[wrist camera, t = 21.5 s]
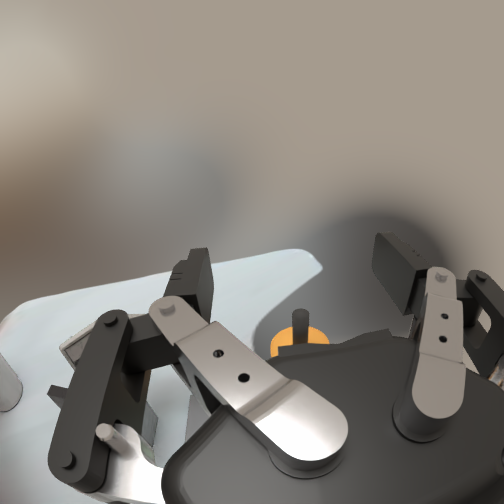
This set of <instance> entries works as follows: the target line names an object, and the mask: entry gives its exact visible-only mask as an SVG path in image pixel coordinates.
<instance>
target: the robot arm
mask: <svg viewBox="0 0 504 504" xmlns="http://www.w3.org/2000/svg"><path fill="white" fill-rule="evenodd" d="M372 269H373V272H374V274H375V276H376V277H377V278H378V280H379V281H380V283H381V284H382V285H383V287H384V288H385V290H386V291H387V292H388V294H389V295H390V297H391V298H392V300H393V301H394V303H395V304H396V306H397V307H398V309H399V310H400V312H401V313H402V314H403V316H404V315H409V314H414V317H413V320H412V323H411V328H410V333H409V337H408V338H404V337H397V336H392V335H391V333H390V331H389V329H384V330H379V331H375V332H370V333H365V334H362V335H360V336H357V337H355V338H353V339H350V340H348V341H345V342H343V343H340V344H319V343H303V344H295V345H286V346H278V355H277V356H274V357H272V358H269V359H267V360H265V361H264V360H263V359H262V358H260V357H259V356H258V355H257V354H255V353H254V352H253V351H252V350H251V349H249V348H248V347H247V346H246V345H245V344H243V343H242V342H241V341H240V340H239V339H238V338H236V337H235V336H234V335H233V334H232V333H231V332H229V331H228V330H227V329H226V328H225V327H224V326H222V325H221V324H220V323H219V322H217V321H214V322H212V323H210V318H211V309H212V300H213V292H214V282H213V275H212V269H211V263H210V258H209V252H208V249H207V248H197V249H191V250H190V253H189V256H188V259H187V260H181V261H180V262H179V263H178V264H176V265H175V267H174V268H173V271H172V275H171V276H170V279H169V280H170V281H169V282H168V284H167V287H166V290H165V293H164V296H163V297H162V298H160V299H158V300H156V301H155V302H154V303H152V305H151V306H150V308H149V313H148V314H145V315H142V316H138V317H134V318H130V319H129V317H128V314H127V313H126V312H125V311H123V310H111V311H108V312H106V313H104V314H102V315H101V316H100V317H99V318H98V319H97V321H96V322H95V325H94V327H93V329H92V331H91V333H90V336H89V338H88V340H87V342H86V345H85V347H84V349H83V352H82V354H81V357H80V359H79V362H78V364H77V367H76V369H75V372H74V374H73V377H72V380H71V382H70V385H69V388H68V391H67V393H66V396H65V399H64V402H63V405H62V408H61V411H60V414H59V417H58V421H57V424H56V427H55V431H54V434H53V438H52V442H51V445H50V449H49V453H48V466H49V469H50V471H51V473H52V474H53V475H54V476H55V477H56V478H57V479H58V480H60V481H62V482H63V483H65V484H67V485H69V486H71V487H73V488H74V489H75V490H77V491H78V492H81V493H83V494H85V495H87V496H89V497H91V498H94V499H96V500H98V501H101V502H105V503H108V504H130V503H131V504H504V291H503V290H502V289H501V288H500V287H499V286H498V285H497V284H496V282H495V281H494V280H492V279H491V277H490V276H489V275H487V274H486V273H484V272H482V271H479V270H471V271H470V272H469V273H468V276H467V280H457V279H456V278H455V276H454V275H453V274H452V273H451V272H450V271H449V270H447V269H444V268H441V267H432V266H431V265H429V263H427V261H426V260H425V259H423V258H422V257H421V256H420V255H419V254H418V253H417V252H415V250H414V249H413V248H412V247H411V246H410V245H408V244H407V243H404V242H403V241H401V240H400V239H399V238H398V237H397V236H396V235H395V234H394V233H392V232H383V233H377V235H376V237H375V244H374V251H373V258H372ZM482 309H484V310H485V312H486V313H487V314H488V315H489V316H490V319H491V328H490V330H489V332H488V333H487V332H486V331H485V329H484V328H483V327H482V325H481V324H480V322H479V321H478V318H479V316H480V314H481V311H482ZM463 347H464V348H465V350H466V352H467V353H468V355H469V356H470V358H471V360H472V361H473V363H474V365H475V367H476V368H477V370H478V372H479V374H480V375H479V374H477V373H475V372H473V371H471V370H469V369H468V368H466V366H465V364H464V363H463V362H462V356H463ZM166 365H171V366H172V368H173V369H174V370H175V372H176V373H177V374H178V376H179V377H180V378H181V379H182V381H183V382H184V383H185V385H186V386H187V387H188V388H189V390H190V391H191V392H192V393H193V395H194V396H195V398H196V399H197V401H198V402H199V404H200V405H201V407H202V408H203V410H204V411H205V412H206V413H207V415H208V416H209V418H208V419H207V420H206V421H205V422H204V424H203V425H202V426H201V427H200V428H199V429H198V430H197V431H196V432H195V433H194V434H193V435H192V436H191V437H190V438H189V439H188V440H187V441H186V442H185V443H184V444H183V445H182V446H181V447H180V448H179V449H178V450H177V451H176V452H175V453H174V454H173V455H172V456H171V458H170V459H169V460H168V462H167V463H166V465H165V467H164V469H162V468H158V467H157V466H156V464H155V459H154V452H153V450H152V448H151V447H150V445H149V444H148V443H147V442H146V441H145V440H144V439H143V438H142V437H141V434H142V426H143V419H144V412H145V405H146V399H147V392H148V386H149V381H150V375H151V369H155V368H159V367H163V366H166ZM21 394H22V384H21V382H20V380H19V379H18V378H17V374H16V373H15V372H14V371H13V369H12V368H11V367H10V365H9V364H8V363H7V361H6V360H5V359H4V357H3V356H2V355H1V353H0V411H8V410H10V409H12V408H13V407H14V406H15V405H16V404H17V402H18V401H19V399H20V397H21Z"/></svg>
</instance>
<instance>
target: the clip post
mask: <svg viewBox="0 0 504 504" xmlns="http://www.w3.org/2000/svg"><path fill="white" fill-rule="evenodd" d="M157 420H158V417H157V415H156V414H155V412H154V411H153V410H152V408H151V407H150V406H149V404H148V403H147V401H146V405H145V412H144V419H143V426H142V434H141V437H142V438H143V439H144V440H145V441H146V442H147V443H148V444H149V445H150V446H152V447H153V442H154V436H155V431H156V425H157Z"/></svg>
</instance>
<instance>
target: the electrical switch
mask: <svg viewBox="0 0 504 504" xmlns="http://www.w3.org/2000/svg"><path fill="white" fill-rule="evenodd" d="M96 321H97V320H96ZM96 321H95V322H96ZM95 322H93V323H92V324H90V325H89V326H87V327H86V328H84V329H83V330H81V331H80V332H78V333H77V334H75V335H74V336H72V337H71V338H70V339H68V340H67V341H65V342H64V343H62V344H61V345H60V347H59V349H60V351H61V353H62V354H63V356H65V358H66V359H67V361H68V362H69V364H70V365H71V366H72V368H73V369H74V371H75V369H76V367H77V364H78V362H79V359H80V357H81V354H82V352H83V349H84V347H85V345H86V342H87V340H88V338H89V336H90V333H91V331H92V329H93V327H94V325H95Z"/></svg>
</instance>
